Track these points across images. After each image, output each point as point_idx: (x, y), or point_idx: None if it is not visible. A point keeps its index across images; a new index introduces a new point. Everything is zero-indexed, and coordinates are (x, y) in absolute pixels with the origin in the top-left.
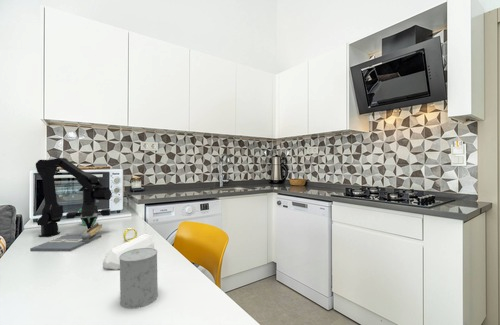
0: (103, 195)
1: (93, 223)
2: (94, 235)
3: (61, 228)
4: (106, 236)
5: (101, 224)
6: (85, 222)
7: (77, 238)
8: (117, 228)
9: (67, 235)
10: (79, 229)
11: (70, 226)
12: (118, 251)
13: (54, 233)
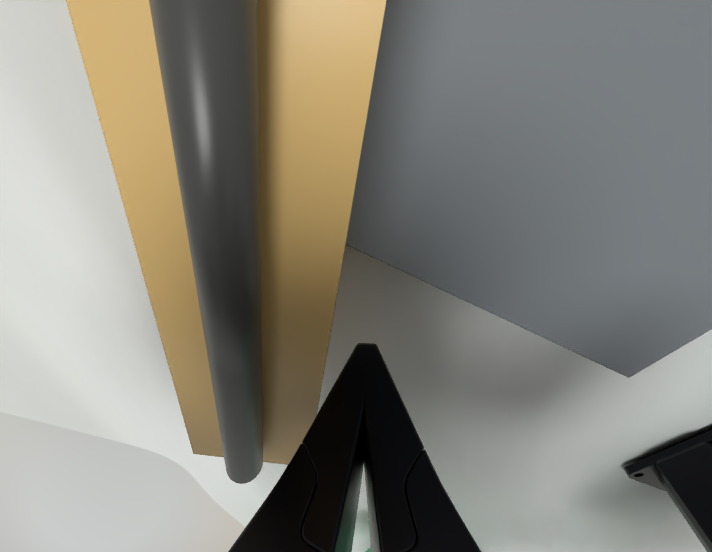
0: None
1: None
2: None
3: (573, 536)
4: (80, 132)
5: (197, 449)
6: (453, 516)
7: (562, 45)
8: (144, 418)
9: (638, 340)
10: (468, 492)
11: (516, 545)
12: None
13: (709, 453)
